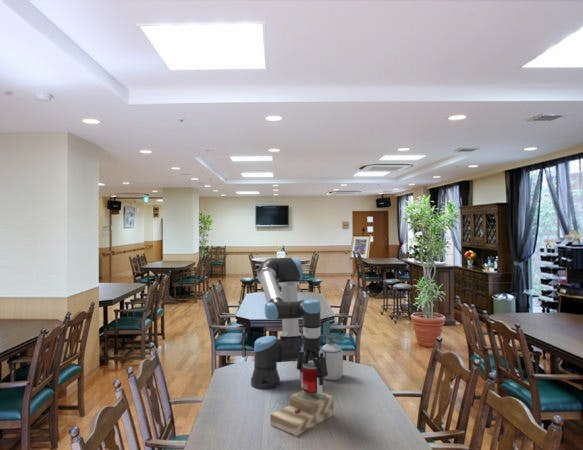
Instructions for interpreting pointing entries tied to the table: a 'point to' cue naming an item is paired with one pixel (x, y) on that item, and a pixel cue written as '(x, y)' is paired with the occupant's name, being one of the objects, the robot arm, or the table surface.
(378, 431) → the table surface
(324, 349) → the soap bottle
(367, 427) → the table surface
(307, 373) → the canned food
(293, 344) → the robot arm
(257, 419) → the table surface
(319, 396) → the stand
